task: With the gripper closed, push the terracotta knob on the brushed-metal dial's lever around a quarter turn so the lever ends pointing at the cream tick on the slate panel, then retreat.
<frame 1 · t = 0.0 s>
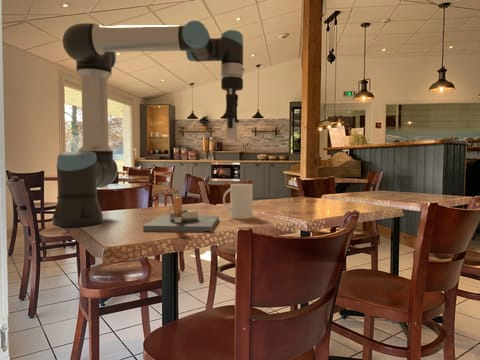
hand: (232, 139, 129), 28 cm above the table, fingers open, 13 cm apart
mug: (237, 218, 133), on the table
panel: (184, 225, 117), on the table
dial: (182, 208, 114), point 6 cm above the table, hinge at 0.0°
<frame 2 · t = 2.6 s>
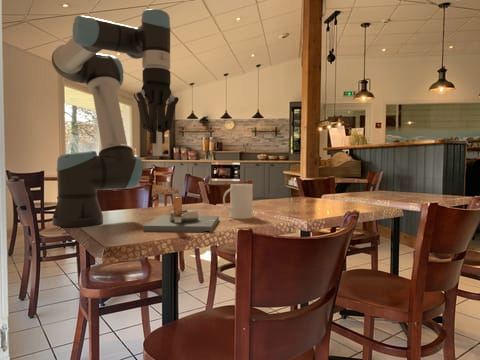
hand: (157, 155, 102), 22 cm above the table, fingers closed
nothing on the table moved.
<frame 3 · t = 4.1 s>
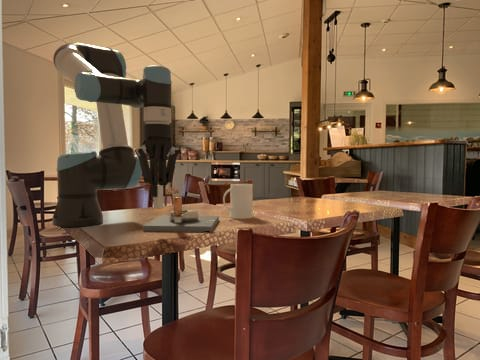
hand: (158, 208, 103), 7 cm above the table, fingers closed
nothing on the table moved.
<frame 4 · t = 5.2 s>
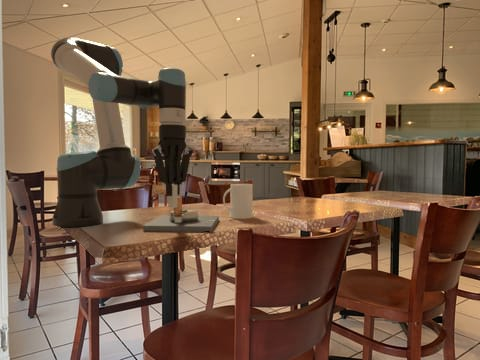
hand: (172, 206, 106), 7 cm above the table, fingers closed
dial: (182, 208, 114), point 6 cm above the table, hinge at 0.4°, touching gripper
everything else where it was.
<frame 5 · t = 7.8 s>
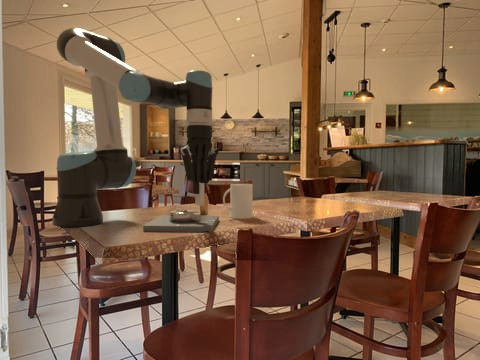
hand: (199, 204, 109), 7 cm above the table, fingers closed
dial: (190, 207, 115), point 6 cm above the table, hinge at 53.3°, touching gripper
everything else where it was.
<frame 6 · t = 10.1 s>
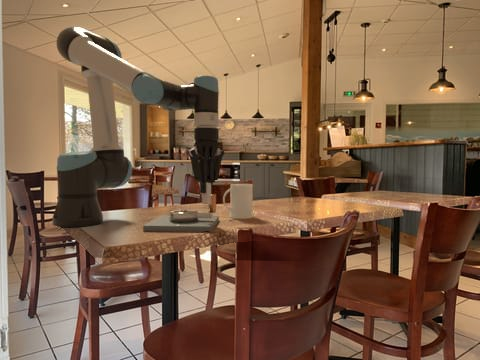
hand: (206, 203, 115), 7 cm above the table, fingers closed
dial: (192, 207, 116), point 6 cm above the table, hinge at 89.3°, touching gripper
everything else where it was.
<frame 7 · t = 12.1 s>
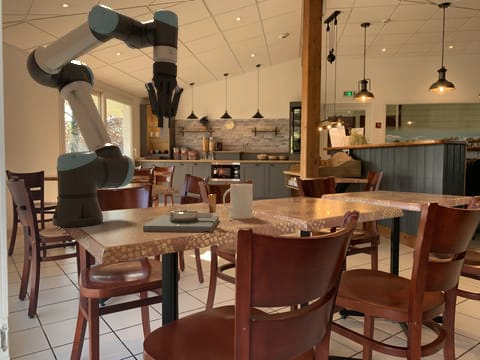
hand: (163, 138, 117), 28 cm above the table, fingers closed
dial: (192, 207, 116), point 6 cm above the table, hinge at 89.4°
everything else where it was.
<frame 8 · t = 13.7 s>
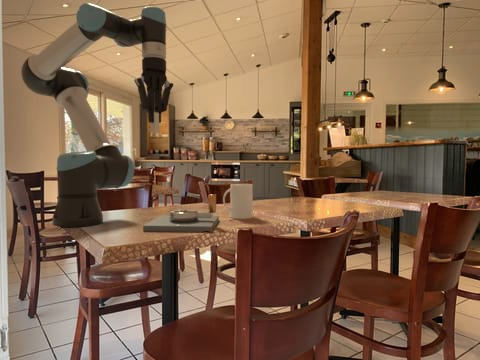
hand: (154, 133, 119), 29 cm above the table, fingers closed
nothing on the table moved.
at the end: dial at +89° (first picture: +0°) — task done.
